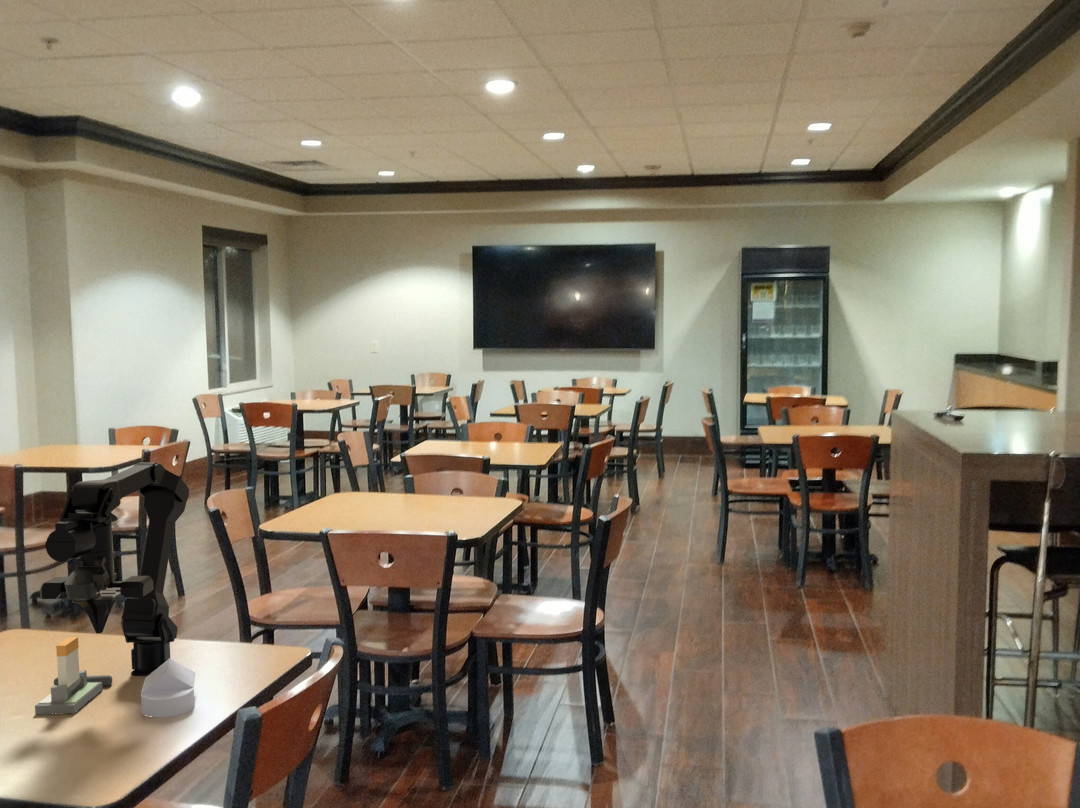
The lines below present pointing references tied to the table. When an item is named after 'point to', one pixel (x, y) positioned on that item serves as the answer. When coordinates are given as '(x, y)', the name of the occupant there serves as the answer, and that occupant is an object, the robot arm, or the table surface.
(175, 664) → the wedge on round base
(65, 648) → the lever
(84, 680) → the panel
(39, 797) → the table surface
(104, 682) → the grey double capsule
